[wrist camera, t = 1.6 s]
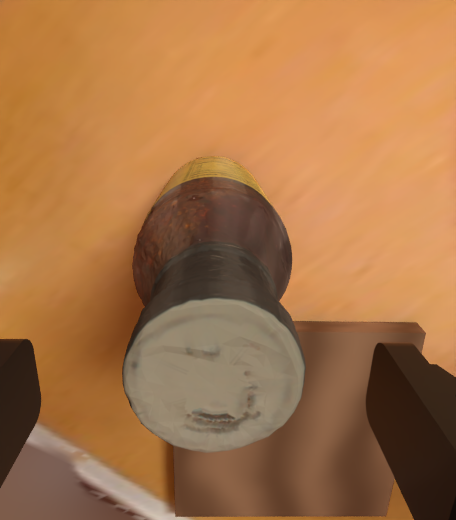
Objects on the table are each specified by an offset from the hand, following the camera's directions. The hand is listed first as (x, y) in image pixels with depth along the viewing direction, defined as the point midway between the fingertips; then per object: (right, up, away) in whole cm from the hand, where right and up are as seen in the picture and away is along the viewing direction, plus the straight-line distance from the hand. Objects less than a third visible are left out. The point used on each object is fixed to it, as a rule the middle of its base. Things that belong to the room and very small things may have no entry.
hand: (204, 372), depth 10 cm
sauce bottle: (0, +7, +18) cm, 19 cm away
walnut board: (+5, -10, +24) cm, 27 cm away
